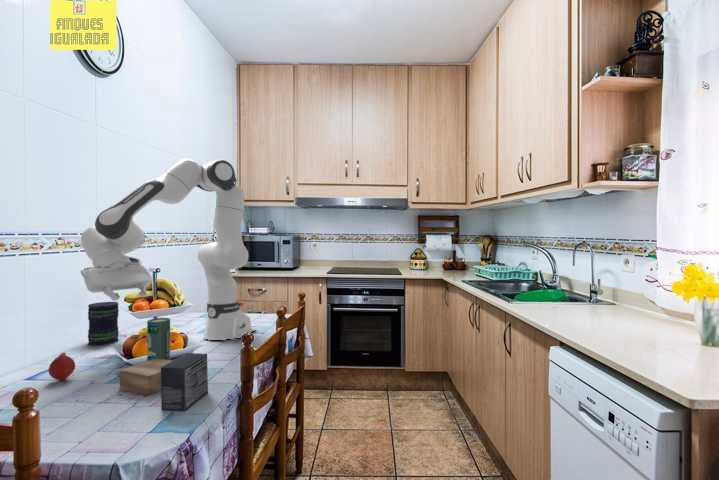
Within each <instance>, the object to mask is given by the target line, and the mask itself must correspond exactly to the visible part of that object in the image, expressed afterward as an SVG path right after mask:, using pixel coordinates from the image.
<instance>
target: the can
mask: <svg viewBox="0 0 719 480" xmlns="http://www.w3.org/2000/svg"><path fill="white" fill-rule="evenodd" d="M146 325H147V326H146V327H147V329H146V331H147V333H146V335H147V336H146V337H147V338H146V339H147V347H146V349H147V352H146V356H147V359H146V361H149V360H152V359H155V358H160V359H165V360H171V318H170V317H156V318H151V319H148V320H147V324H146Z"/></svg>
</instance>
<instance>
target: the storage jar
mask: <svg viewBox="0 0 719 480" xmlns="http://www.w3.org/2000/svg"><path fill="white" fill-rule="evenodd" d="M87 306H88V309H87V310H88V311H87V316H88V317H87V318H88V331H87V333H88V334H87V338H88V339H87V340H88V342H87V345H88V346H90V347H91V346H92V347H97V346H98V347H99V346H101V347H102V346H106V345H112V344H115V343H117V342H119V333H120V332H119V331H120V330H119V326H118V325H119V322H118V321H119V320H118V319H119V312H120V311H119V302H117V301H103V302H95V303H90V304H88V305H87ZM116 341H117V342H116ZM114 342H115V343H114ZM111 343H112V344H111Z"/></svg>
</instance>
